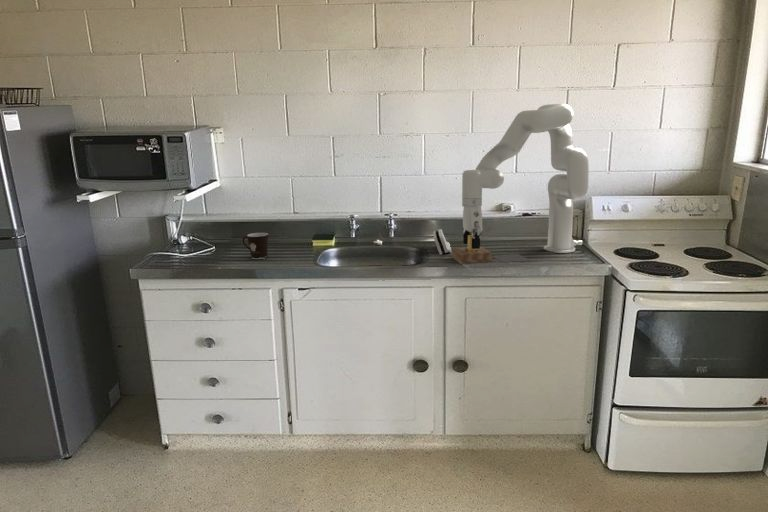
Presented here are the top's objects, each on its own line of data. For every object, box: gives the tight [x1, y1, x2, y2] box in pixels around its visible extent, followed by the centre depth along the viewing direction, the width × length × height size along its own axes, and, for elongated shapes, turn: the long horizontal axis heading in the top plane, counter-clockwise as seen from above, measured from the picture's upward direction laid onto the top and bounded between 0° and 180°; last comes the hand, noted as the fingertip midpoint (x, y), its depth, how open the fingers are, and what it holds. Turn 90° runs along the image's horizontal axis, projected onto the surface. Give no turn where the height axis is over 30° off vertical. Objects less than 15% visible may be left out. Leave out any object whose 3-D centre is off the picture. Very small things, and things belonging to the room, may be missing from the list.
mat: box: [492, 253, 529, 263], centre depth 224 cm, size 11×11×1 cm
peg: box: [467, 234, 475, 252], centre depth 223 cm, size 3×3×10 cm
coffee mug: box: [242, 232, 269, 258], centre depth 236 cm, size 12×9×10 cm
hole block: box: [451, 245, 493, 266], centre depth 223 cm, size 12×12×4 cm
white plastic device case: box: [432, 228, 452, 256], centre depth 242 cm, size 17×5×10 cm, turn 176°
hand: (471, 245), depth 222 cm, fingers open, 9 cm apart
